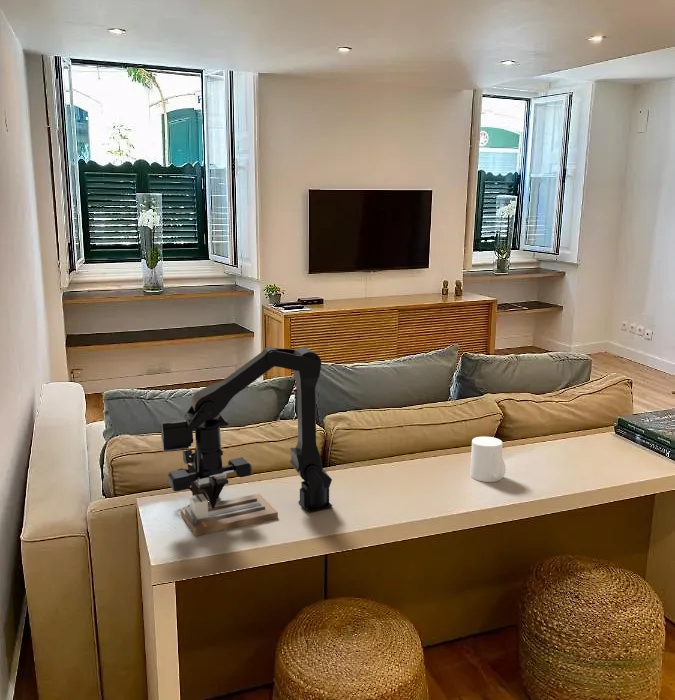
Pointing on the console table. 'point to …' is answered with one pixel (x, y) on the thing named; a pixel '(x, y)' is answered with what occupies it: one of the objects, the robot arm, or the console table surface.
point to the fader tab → (199, 506)
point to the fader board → (230, 514)
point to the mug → (487, 459)
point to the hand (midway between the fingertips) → (212, 507)
